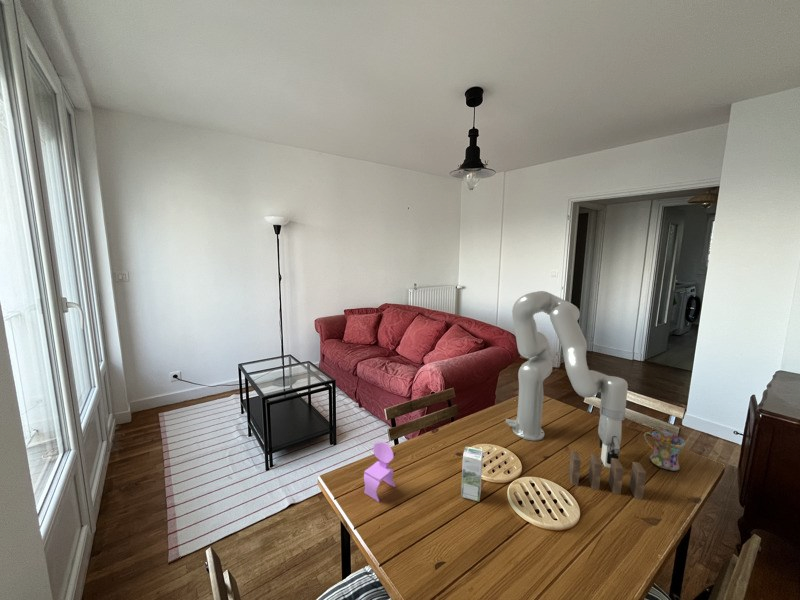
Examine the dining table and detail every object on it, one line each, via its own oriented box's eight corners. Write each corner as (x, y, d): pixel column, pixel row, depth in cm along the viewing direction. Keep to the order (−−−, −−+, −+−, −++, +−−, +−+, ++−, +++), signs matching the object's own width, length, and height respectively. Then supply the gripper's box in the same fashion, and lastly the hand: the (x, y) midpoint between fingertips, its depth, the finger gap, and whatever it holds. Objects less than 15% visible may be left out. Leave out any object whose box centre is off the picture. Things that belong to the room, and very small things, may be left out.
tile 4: (571, 484, 107) (573, 459, 106) (568, 474, 112) (571, 450, 111) (578, 485, 107) (580, 460, 105) (575, 475, 112) (577, 451, 110)
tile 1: (635, 497, 102) (638, 471, 100) (629, 486, 107) (632, 461, 105) (642, 499, 101) (646, 473, 100) (636, 488, 106) (639, 463, 105)
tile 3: (591, 488, 105) (594, 463, 104) (588, 478, 110) (590, 454, 109) (598, 490, 105) (601, 464, 103) (594, 479, 110) (597, 455, 108)
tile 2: (613, 493, 104) (616, 467, 102) (608, 482, 108) (611, 457, 107) (620, 494, 103) (623, 469, 102) (615, 483, 108) (618, 459, 106)
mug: (686, 468, 116) (690, 441, 114) (672, 476, 112) (677, 448, 110) (648, 450, 126) (651, 424, 125) (634, 456, 122) (638, 430, 121)
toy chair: (360, 492, 103) (360, 448, 101) (378, 477, 110) (378, 436, 108) (380, 504, 98) (380, 459, 96) (398, 488, 105) (398, 445, 103)
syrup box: (481, 489, 104) (483, 448, 102) (479, 503, 99) (481, 459, 97) (463, 485, 106) (465, 444, 104) (460, 498, 101) (462, 455, 99)
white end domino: (604, 466, 116) (607, 443, 115) (600, 458, 121) (603, 435, 120) (611, 468, 116) (613, 444, 114) (607, 459, 121) (609, 436, 119)
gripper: (594, 400, 125) (590, 441, 127) (607, 421, 108) (602, 468, 111) (616, 402, 122) (613, 444, 125) (633, 425, 106) (628, 473, 108)
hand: (608, 456), depth 118 cm, fingers open, 9 cm apart
